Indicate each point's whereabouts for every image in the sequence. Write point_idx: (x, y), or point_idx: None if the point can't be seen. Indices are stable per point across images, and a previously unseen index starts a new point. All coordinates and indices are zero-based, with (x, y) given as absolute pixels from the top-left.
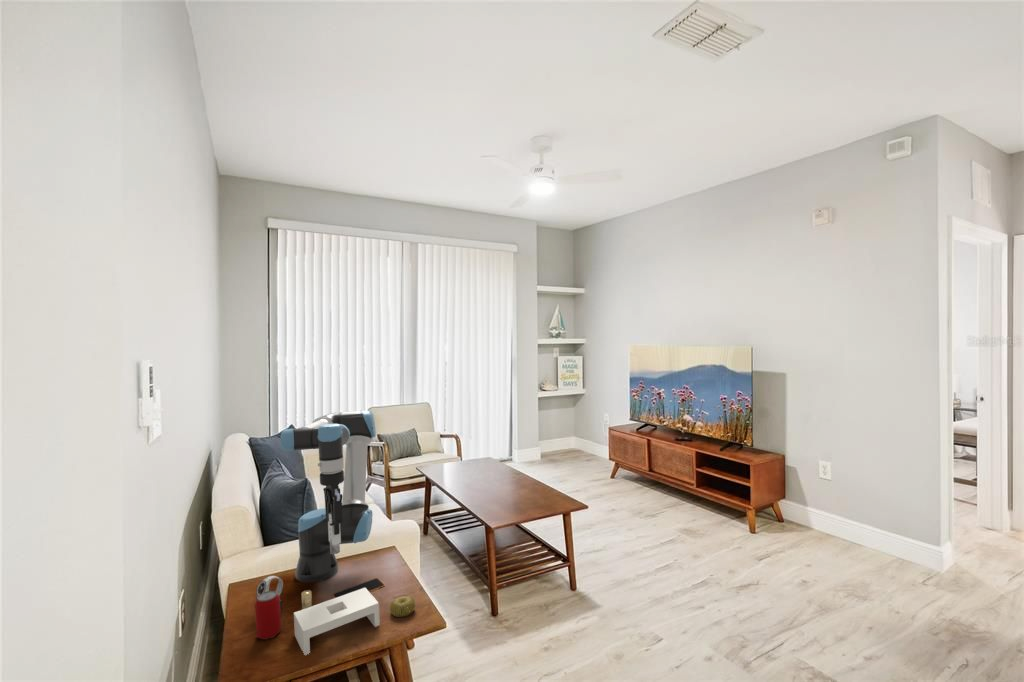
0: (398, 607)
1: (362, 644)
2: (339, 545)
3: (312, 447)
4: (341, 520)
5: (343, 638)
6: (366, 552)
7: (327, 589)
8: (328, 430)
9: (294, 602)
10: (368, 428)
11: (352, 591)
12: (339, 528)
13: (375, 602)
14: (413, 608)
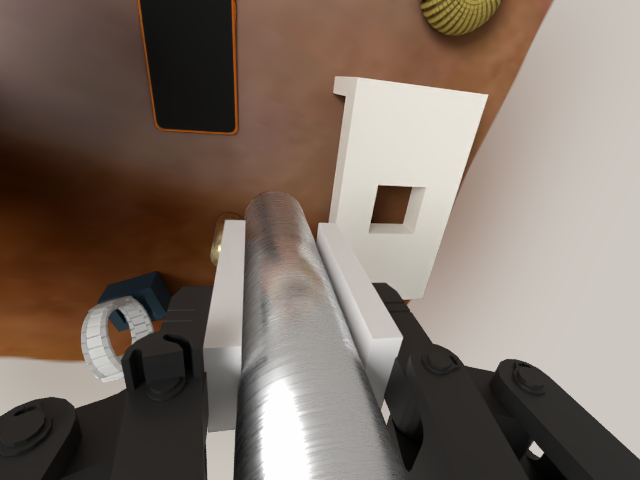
0: (487, 15)
1: (467, 163)
2: (296, 211)
3: None
4: (564, 401)
5: (411, 188)
6: None
7: (95, 125)
8: None
9: (130, 237)
10: None
11: (187, 58)
12: (373, 299)
13: (477, 102)
14: None
